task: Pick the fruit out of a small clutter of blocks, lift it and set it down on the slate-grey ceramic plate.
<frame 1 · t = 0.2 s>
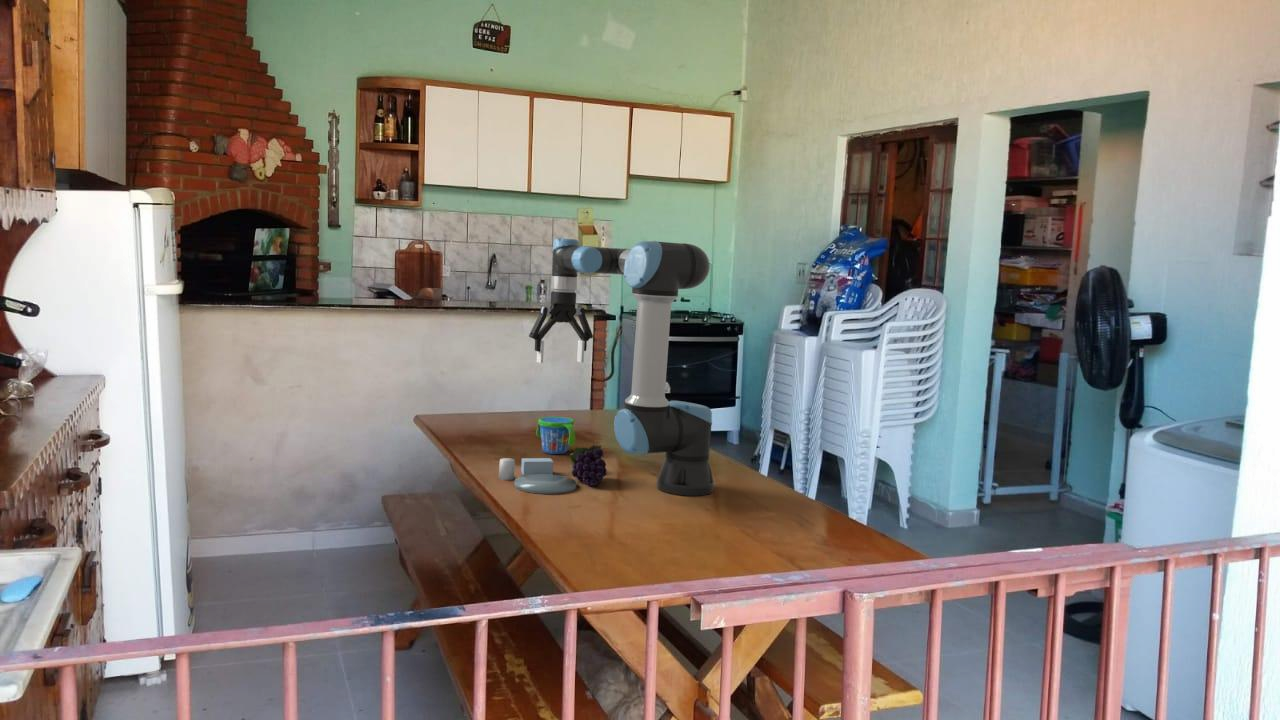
hand: (560, 362, 279), 28 cm above the table, fingers open, 13 cm apart
snack cup: (554, 453, 284), on the table
plate: (545, 486, 244), on the table
grey plastic peg: (506, 478, 249), on the table
dusty blue block: (536, 474, 257), on the table
walnut block: (581, 471, 262), on the table
fruit: (588, 483, 251), on the table
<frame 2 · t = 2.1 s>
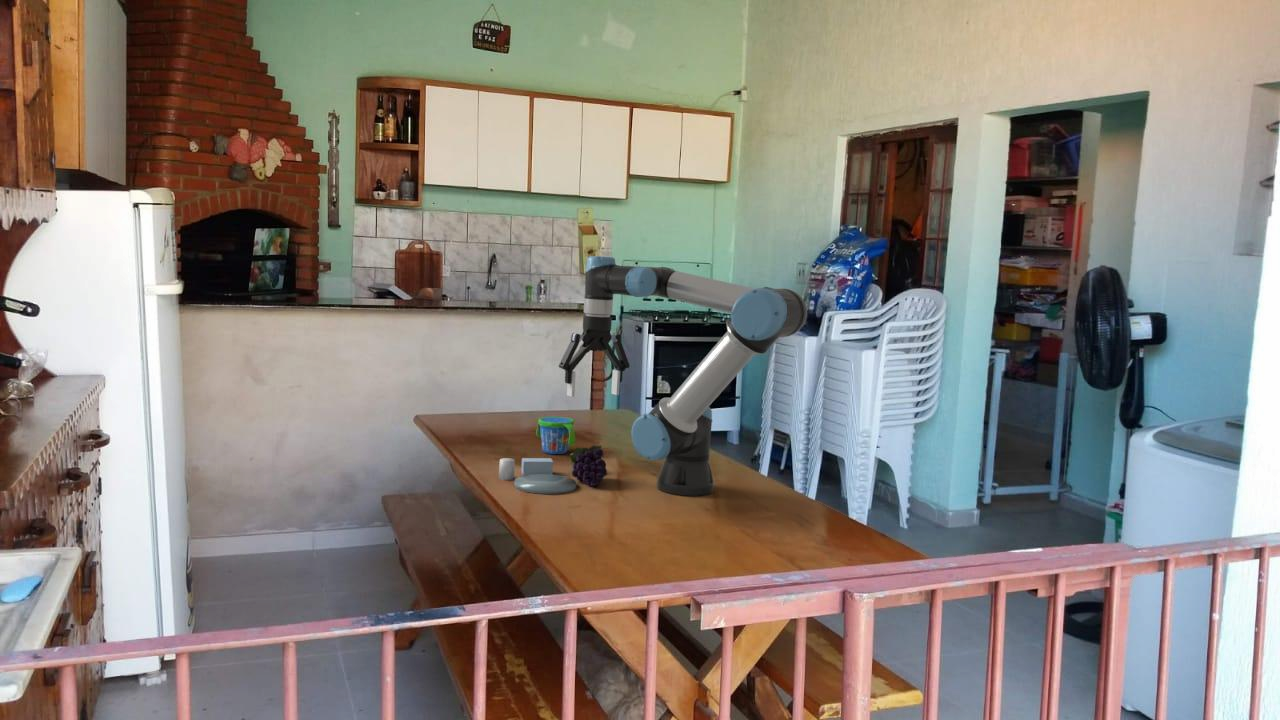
hand: (593, 395, 248), 23 cm above the table, fingers open, 13 cm apart
nothing on the table moved.
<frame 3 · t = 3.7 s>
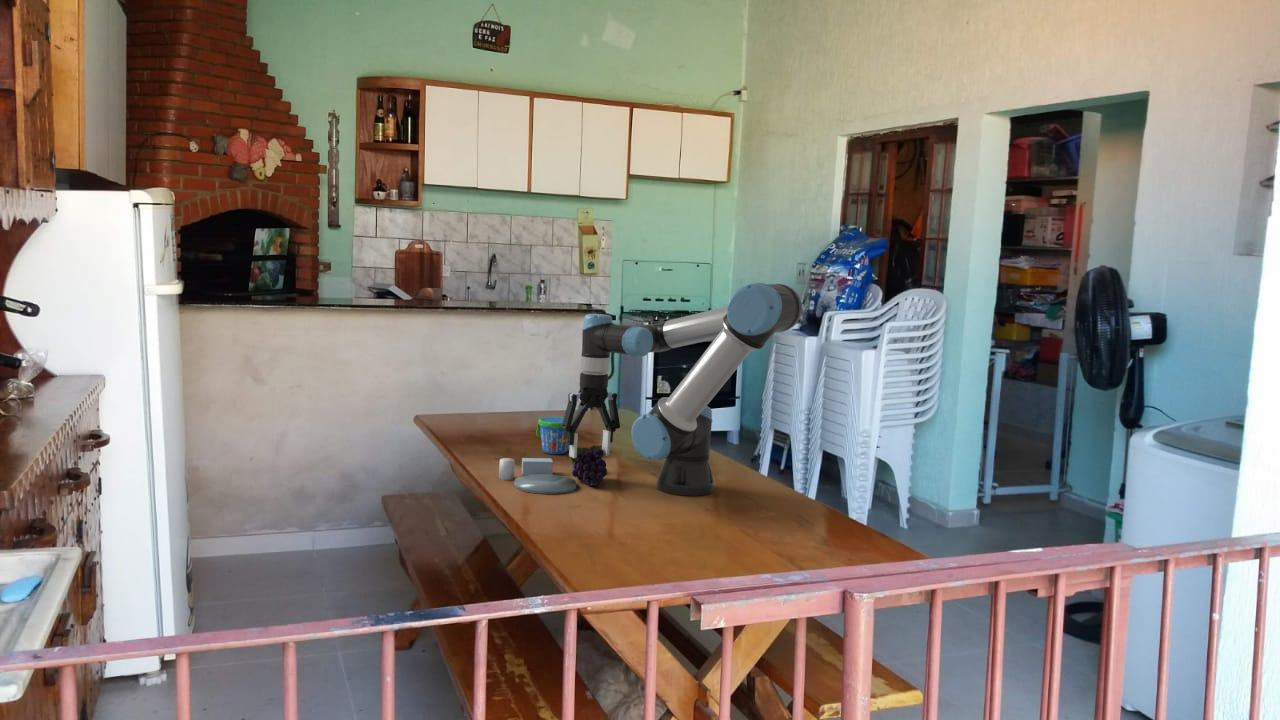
hand: (589, 455, 250), 7 cm above the table, fingers closed on fruit, 9 cm apart
fruit: (589, 483, 250), on the table, touching gripper
everything else where it was.
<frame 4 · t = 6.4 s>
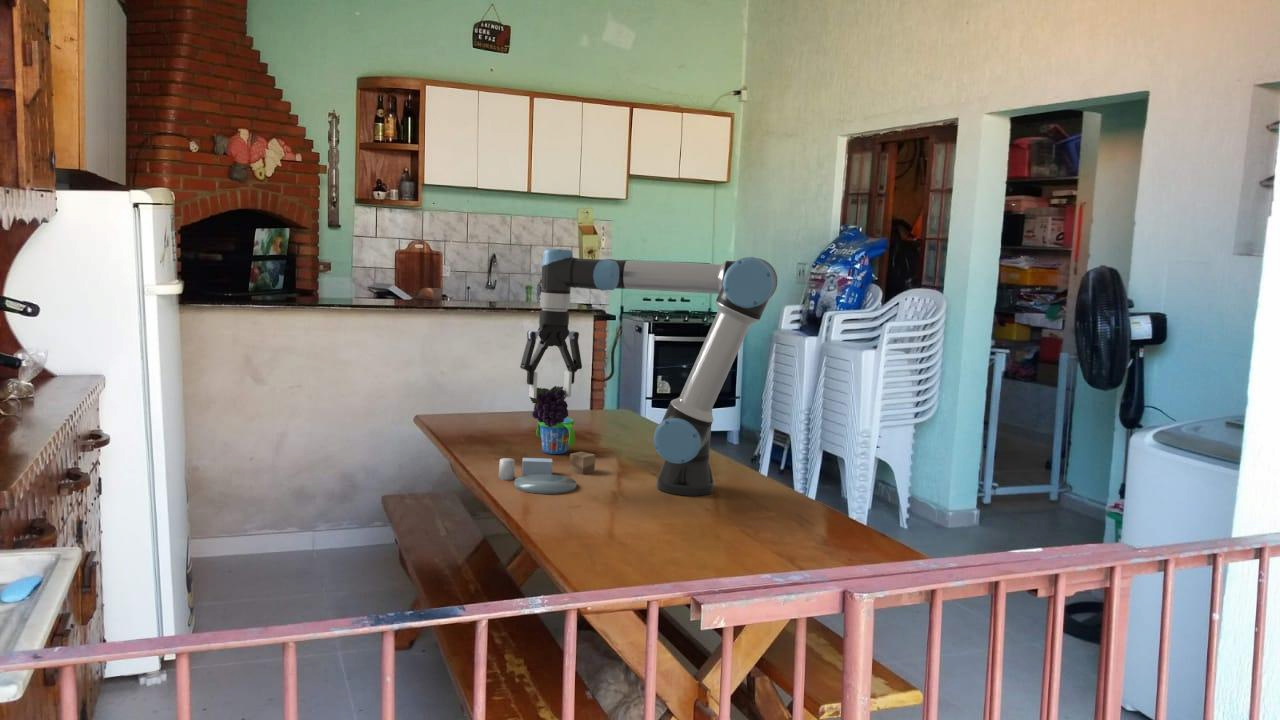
hand: (550, 396, 241), 24 cm above the table, fingers closed on fruit, 9 cm apart
fruit: (550, 424, 242), point 16 cm above the table, touching gripper
everything else where it was.
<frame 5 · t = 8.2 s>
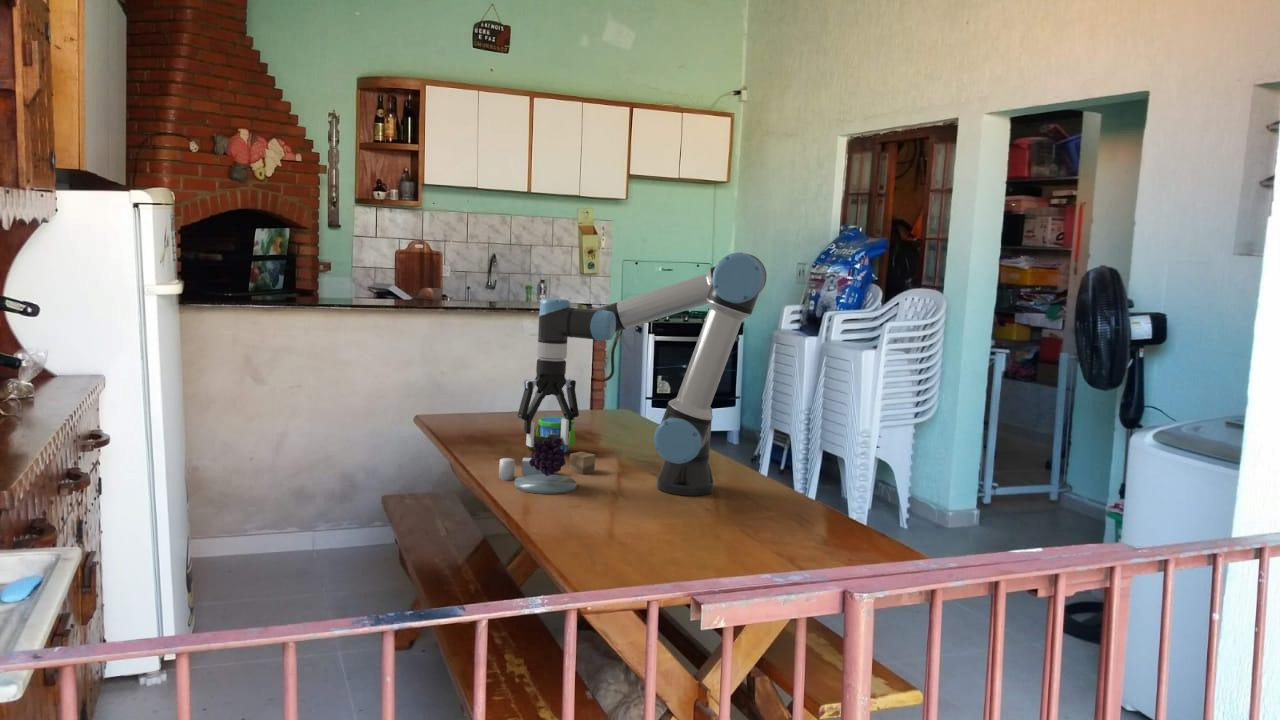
hand: (547, 444, 242), 11 cm above the table, fingers closed on fruit, 9 cm apart
fruit: (546, 472, 243), point 4 cm above the table, touching gripper
everything else where it was.
when the fingers open (9 cm above the table, at t = 9.0 s): fruit drops 1 cm, resting on plate.
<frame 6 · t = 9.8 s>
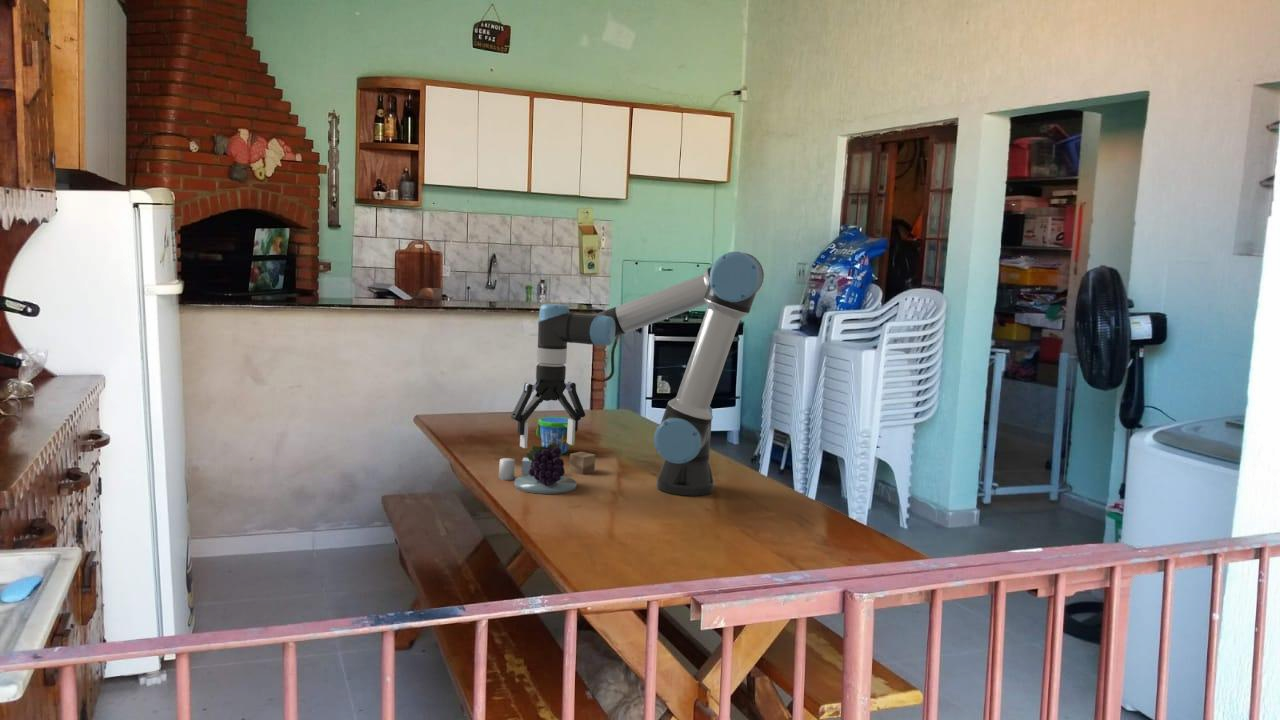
hand: (547, 445, 242), 11 cm above the table, fingers open, 13 cm apart
fruit: (546, 482, 243), point 1 cm above the table, touching plate
everything else where it was.
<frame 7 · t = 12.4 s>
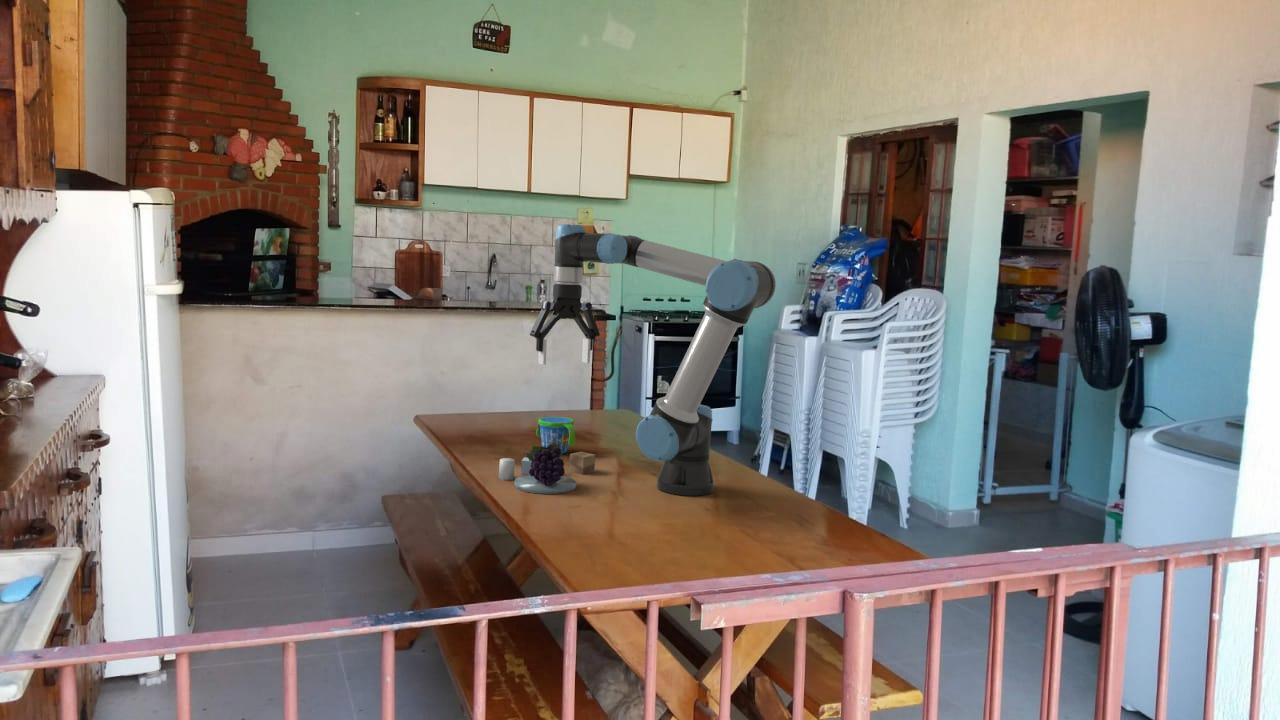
hand: (564, 363, 249), 31 cm above the table, fingers open, 13 cm apart
nothing on the table moved.
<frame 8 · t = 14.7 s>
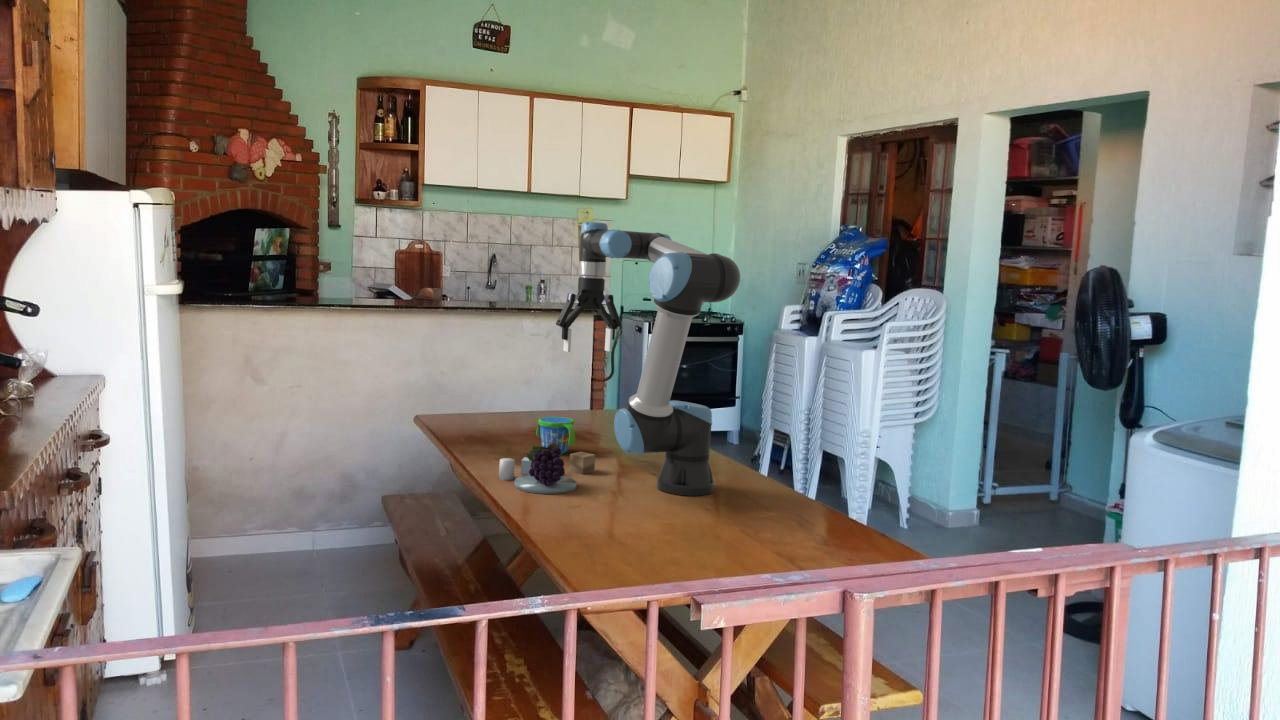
hand: (587, 351, 268), 33 cm above the table, fingers open, 13 cm apart
nothing on the table moved.
at the end: fruit 0.4 cm from the plate (horizontally); fruit point 1.0 cm above the table; the gripper is holding nothing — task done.
